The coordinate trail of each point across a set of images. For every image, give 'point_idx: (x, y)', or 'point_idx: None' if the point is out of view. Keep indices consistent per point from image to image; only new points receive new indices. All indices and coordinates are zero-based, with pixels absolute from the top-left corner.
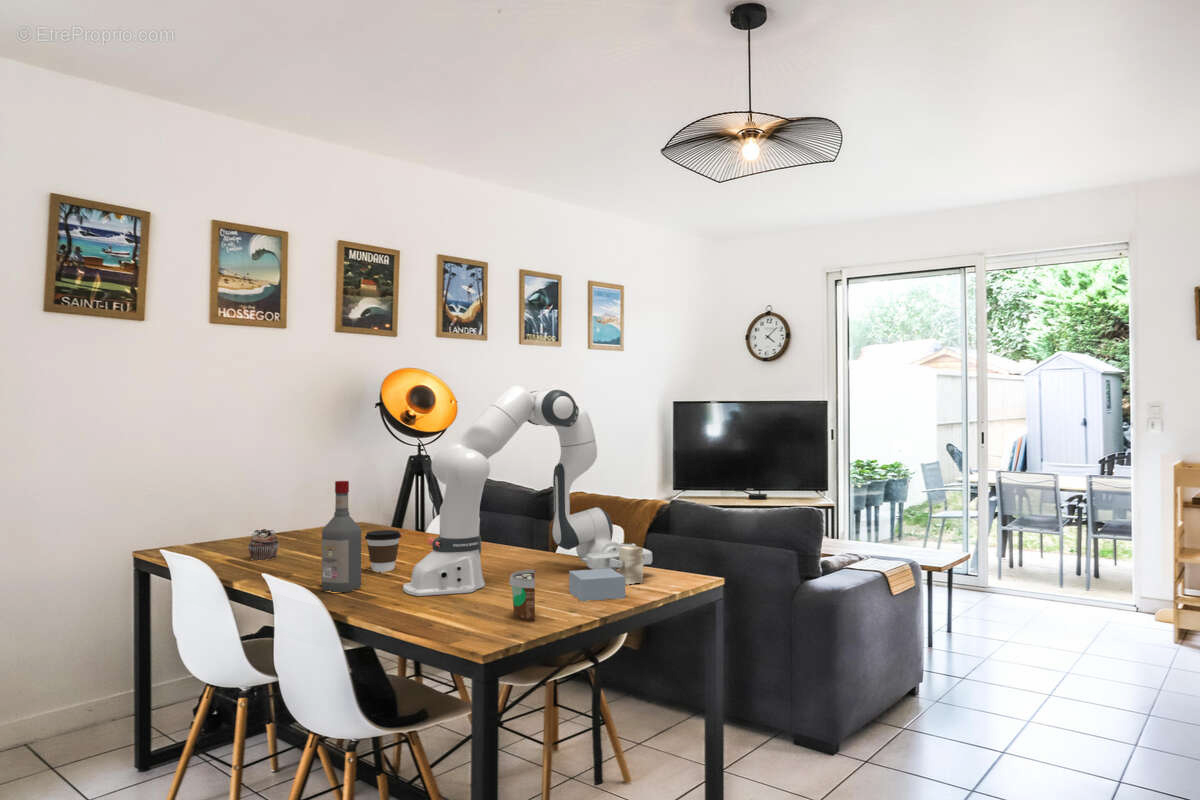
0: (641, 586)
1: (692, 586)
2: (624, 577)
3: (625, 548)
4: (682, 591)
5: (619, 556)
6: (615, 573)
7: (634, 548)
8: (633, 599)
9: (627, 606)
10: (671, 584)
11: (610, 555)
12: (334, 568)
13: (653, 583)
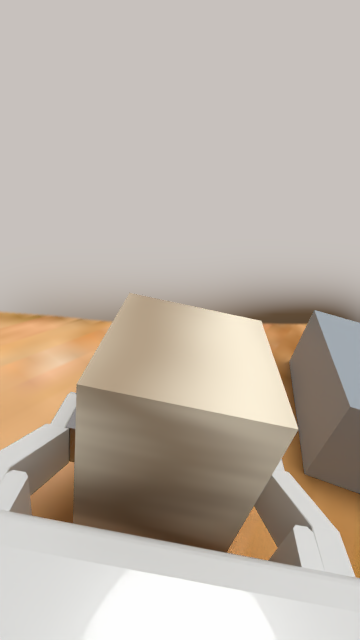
0: None
1: (20, 329)
2: (315, 312)
3: (261, 346)
4: (106, 321)
5: (257, 488)
6: (339, 342)
7: (193, 314)
8: (271, 347)
9: (303, 329)
10: (33, 379)
11: (356, 611)
12: None
13: None
